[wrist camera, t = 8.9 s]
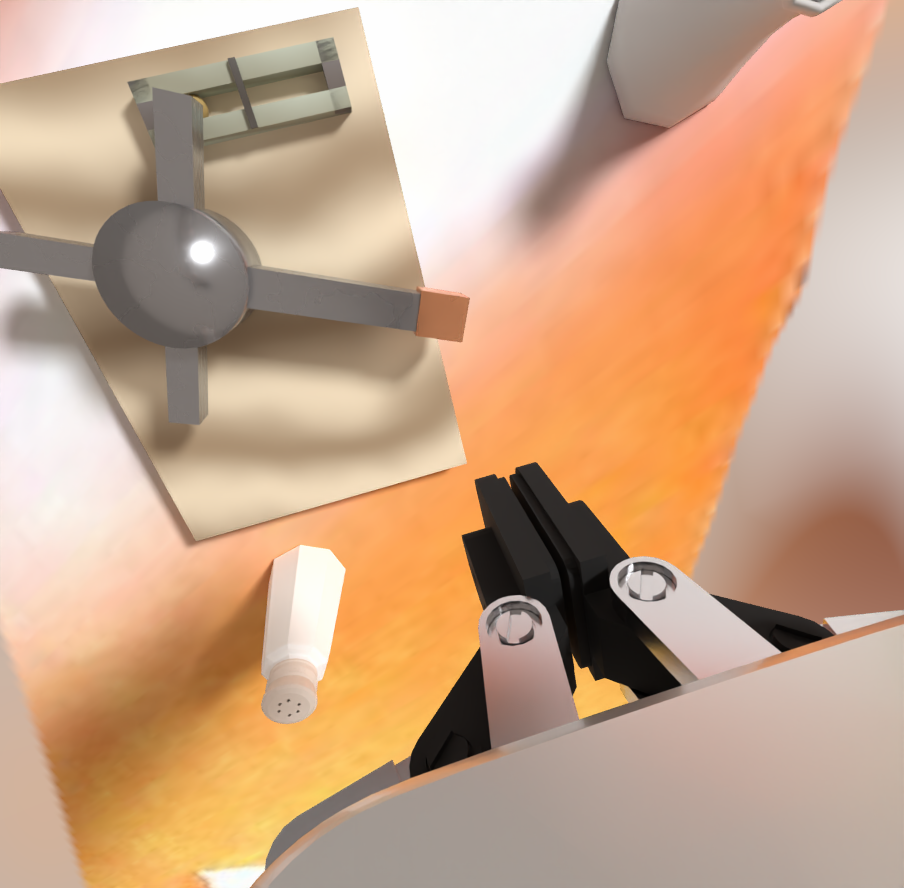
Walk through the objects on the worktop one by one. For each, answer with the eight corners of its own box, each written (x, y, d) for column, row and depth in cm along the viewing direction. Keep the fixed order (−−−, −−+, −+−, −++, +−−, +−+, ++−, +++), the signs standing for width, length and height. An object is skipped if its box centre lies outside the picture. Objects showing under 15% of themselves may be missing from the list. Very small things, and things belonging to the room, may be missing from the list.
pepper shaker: (253, 584, 35) (212, 724, 25) (296, 530, 34) (272, 654, 24) (317, 614, 37) (303, 755, 27) (361, 565, 36) (363, 692, 26)
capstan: (60, 387, 26) (6, 416, 22) (18, 72, 21) (-62, 33, 17) (433, 423, 30) (445, 452, 26) (474, 172, 25) (496, 161, 21)
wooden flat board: (-26, 103, 22) (-79, 85, 19) (358, 21, 23) (358, -7, 21) (203, 527, 32) (189, 554, 30) (462, 453, 34) (471, 472, 31)
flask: (607, 140, 28) (729, 95, 19) (600, -25, 25) (742, -175, 16) (724, 117, 28) (897, 62, 19) (731, -46, 25) (941, -204, 16)
